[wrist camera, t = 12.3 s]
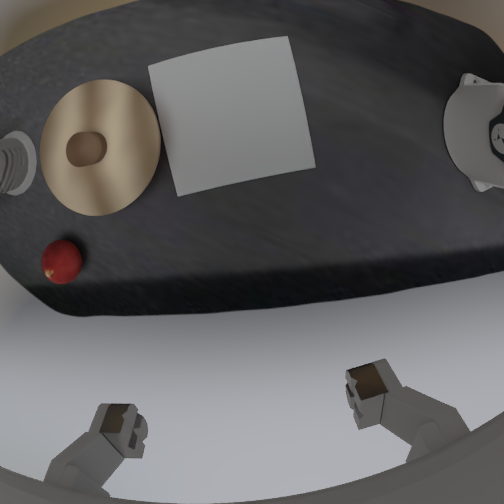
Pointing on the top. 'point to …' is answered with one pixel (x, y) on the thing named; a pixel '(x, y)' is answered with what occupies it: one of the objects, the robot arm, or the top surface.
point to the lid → (100, 147)
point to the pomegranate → (61, 261)
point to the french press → (16, 163)
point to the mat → (231, 114)
